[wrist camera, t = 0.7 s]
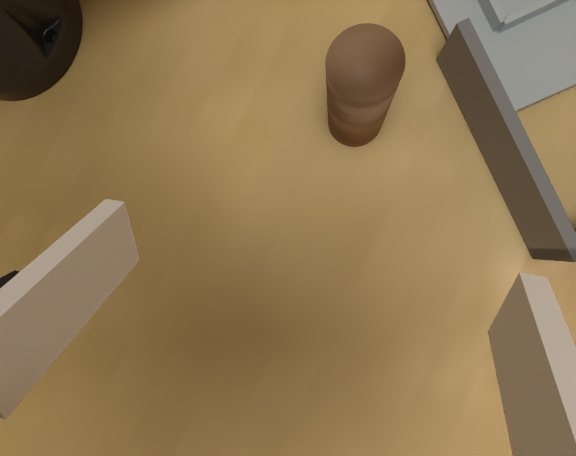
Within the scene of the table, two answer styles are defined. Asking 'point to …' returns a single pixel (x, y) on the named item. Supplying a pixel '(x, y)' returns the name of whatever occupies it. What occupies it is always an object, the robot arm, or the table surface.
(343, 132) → the wooden dowel
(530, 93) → the tray
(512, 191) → the dock
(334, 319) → the table surface
